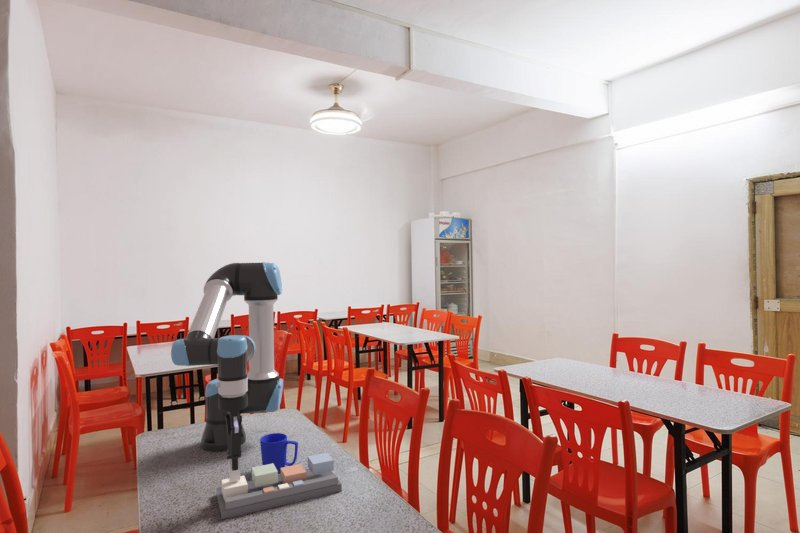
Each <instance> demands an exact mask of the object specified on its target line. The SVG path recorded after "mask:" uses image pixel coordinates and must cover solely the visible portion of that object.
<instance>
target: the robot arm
mask: <svg viewBox="0 0 800 533" xmlns="http://www.w3.org/2000/svg"><path fill="white" fill-rule="evenodd" d="M282 287H283V286H282V277H281V273H280V269H279V266H278V265H277V264H276V263H274V262H264V261H262V262H231V263H229V264H225V265H224V266H221V267H220V268H219V269H217V270H216V271H215V272H213V273H212V274H211V275H210V276H209V278H207V280H206V282H205V284H204V286H203V297H202V298H201V301H200V304H199V306H198V308H197V311H196V313H195V316H194V318H193V320H192V323H191V324H190V328H189V330H188V332H187V335H186V336H185V338H179V339H176V340H174V341H173V342H172V345H171V350H170V357H171V361H172V364H173V365H175V366H180V367H181V366H182V367H183V366H184V367H187V366H188V367H190V366H192V367H193V366H195V367H196V366H210V365H211V366H216V365H217V378H215V379H212V380H211V381H209V382H208V383H207V384H206V386H205V395H204V398H205V399H204V400H205V426H204V429H203V431H202V436H201V440H200V447H201V449H203V450H204V451H209V452H222V451H228V452H227V454H228V455H227V456H226V460H228V478H229V482H234V481H239V480H240V476H241V460H240V459H241V457H242V446H243V445H244V444H245V443H246V441H247V438H246V437H247V436H246V435H247V434H246V431H245V428H244V426H243V423H242V422H243V415H244V414H262V413H263V414H267V413H274V412H275V413H276V412H277V411H278V410H279V408H280V406H281V402H282V396H283V389H284V379H283V378H282V377H281V378H279V377H280V376H279V374H280V373H279V372H278V371H277V370H276V369H275V332H274V331H275V328H274V326H275V324H274V320H275V319H274V304H275V303H276V302H277V301H278V298H279V296H280V295H282V293H283V288H282ZM234 296H243V299H244V300H243V301H244V302H245V303H246V304H247V305H248V335H241V334H240V335H238V334H232V335H230V334H229V335H225V336H221V337H217V338H216V337H215V336H216V333H217V330H218V328H219V325H220V322H221V319H222V316H223V314H224V311H225V308H226V305H227V302H228V301H229V300H231V298H232V297H234ZM248 362H249V372H248ZM242 414H243V415H242Z"/></svg>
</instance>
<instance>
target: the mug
mask: <svg viewBox="0 0 800 533" xmlns="http://www.w3.org/2000/svg"><path fill="white" fill-rule="evenodd" d="M259 442H260V453H261V466H262V465H267V464H272V463H273V464H274V465H275V467H276V469H277V471H278V473H280V472H281V470H280V468H283V467H287V466H292V465H295V463H296V461H297V458H298V451H299V442H298V441H295V440H288V436H287V434H285V433H281V432H273V433H269V434H265V435H263V436H261V437H260V440H259ZM290 444H291V445H294V456H293V460H292V462H288V461H287V453H288V452H287V449H288V445H290Z"/></svg>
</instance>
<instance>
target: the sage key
mask: <svg viewBox="0 0 800 533" xmlns="http://www.w3.org/2000/svg"><path fill="white" fill-rule="evenodd" d="M278 475H279V472H278V471H277V469H276V467H275V465H274V464H273V463H272V464H267V465H262V464H261V465H257V466H253V467H251V479H252V480H253V482H254V485H255V487H259V486H264V485H268V484H273V483H278ZM252 480H251V481H252Z"/></svg>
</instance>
